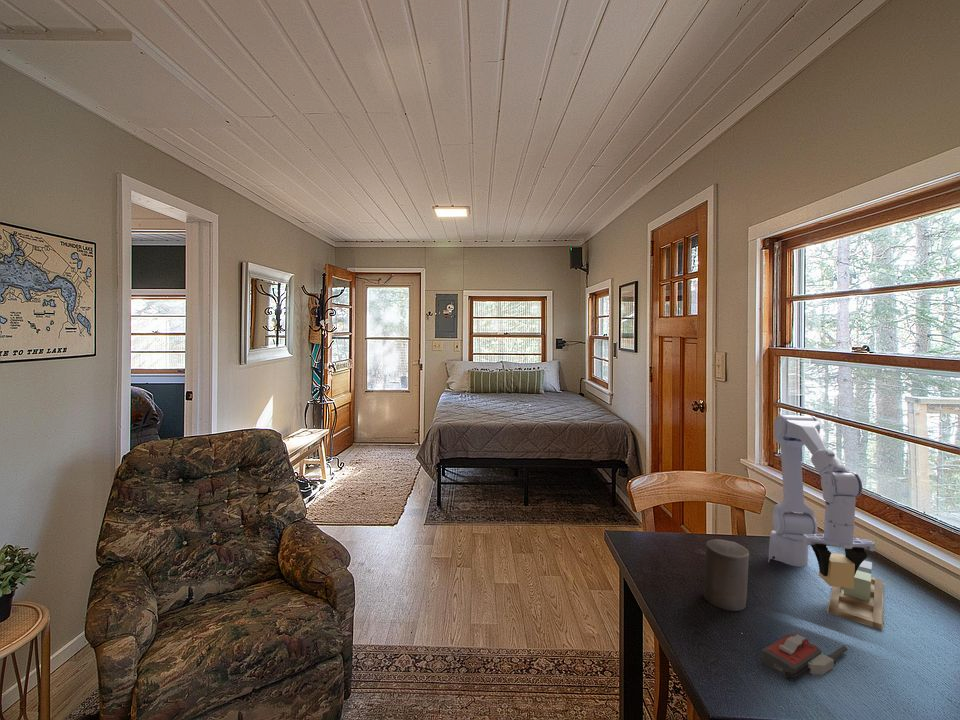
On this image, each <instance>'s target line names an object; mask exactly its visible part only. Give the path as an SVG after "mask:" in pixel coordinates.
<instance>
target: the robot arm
mask: <svg viewBox="0 0 960 720" xmlns="http://www.w3.org/2000/svg"><path fill="white" fill-rule="evenodd" d="M820 423H821V422H820V421H819V419H818V418H817V417H816V416H814V415H810V416H807V415H789V414H788V415H785V414H784V415H783V414H778V415H776V417H775V419H774V422H773V434H774V436H773V437H774V442H775V443H778V444H779V445H780V459H781V475H782V476H781V477H782V478H781V479H782V493H783V500H782V501H780V502H779V503H777V504H775V505H774V506H773V509H772V510H773V514H772V517H771V521H772V522H771V523H772V527H773V529H772V530H771V531H770V536H769V544H768V561H767V563H768V564H769V562H770V560H774V561H778V562H781V563H783V564H786V565H789V566H792V567H800V568H801V567H802V568H803V567H807V566H808V562H809V561H808V560H809V546H810V547H811V548H812V550H813V553H814V555H815V558H816V560H817V564H818V567H819V569H820V573H821V574H822V575H823V576H827V575H828V563H829V558H830V555H831V553H832V552H831V551H830V550H829V549H828V547H833V548H834V547H835V548H836V547H838V548H842V549H844V554H845V555H844V556H845V557H847V558H848V559H849V560H850V561H852V562H853V563H854V564H855V572H854V576H855V574H856V571H857V569H858V567H859V566H860V564H861V563H862V562H863V561H864V560H865V561H866V559H867V558H868V553H867V552H866V551H865V550H867V551H869V552H875V549H876V543H875V542H873V541H872V540H870V539H863V538H858V537H854V535H855V534H854V533H855V516H856V515H855V514H856V501H857V500H856V498H859V497H861V495H862V492H863V482H862V479H861V477H860V476H859V474H858V473H857V472H854V471H852V470H851V469H848V468H847V467H846V466H845V465H844V463H843V462H842V460H841V458H839V456H838V455H837V454H836V452H835V451H834V450H831V449H828V447H826V444H825V442H824V440H823V439H822V437H821V435H820V433H821V425H820ZM803 446H805V447H806V448H807V450H808V451H809V452H810V453H811V458H810V461H811V463H812V465H813V466H814V468H815V470H816V471H817V473H818V475H819V476H820V478H821V479H820V485H821V489H822V497H823V500H824V501H825V502H824V503H825V504H824V518H823V519H824V521H823V522H824V523H823V525H824V526H823V533H818V526H819V525H818V522H817V520H816V515H815V511H814V510H813V508H811V507H810V506H808V505H807V504H806V503H805V497H804V483H803V482H804V481H803V480H804V479H803V468H802V452H801V451H802V450H801V449H802V447H803ZM819 569H818V570H819Z"/></svg>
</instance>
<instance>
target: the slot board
mask: <svg viewBox="0 0 960 720" xmlns="http://www.w3.org/2000/svg"><path fill="white" fill-rule="evenodd" d="M831 587H832V588H831V591H830V592H831V593H830V596H829V601H828V605H827V606H828V607H827V610H826V612H827V613H829V614H832V615H835V616H838V617H841V618H844V619H847V620H851V621H853V622H856V623H859V624H862V625H866V626H868V627H871V628H874V629H877V630H881V631H883V630H884V584H883V579H881V578H876V577H873V576H871V589H870V602H867V601H864V600H860V599H857V598H854V597H850V596H847V595H844V587H834V586H831Z"/></svg>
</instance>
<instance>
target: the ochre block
mask: <svg viewBox="0 0 960 720" xmlns="http://www.w3.org/2000/svg"><path fill="white" fill-rule="evenodd" d="M854 572H855V564H854V563H853V562H852V561H850V560H849V559H848V558H847V557H846V555H844V554H843V553H842V554H841V553H832V552H831V555H830V558H829V563H828V575H827V576H823V575H822V574H821V573H820V569H818V576H819V577H820V578H821V579H822V580H823V581H824V582H825V583H826V585H828V586H829V587H833V586H834V587H844V588H853V589H854Z"/></svg>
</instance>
